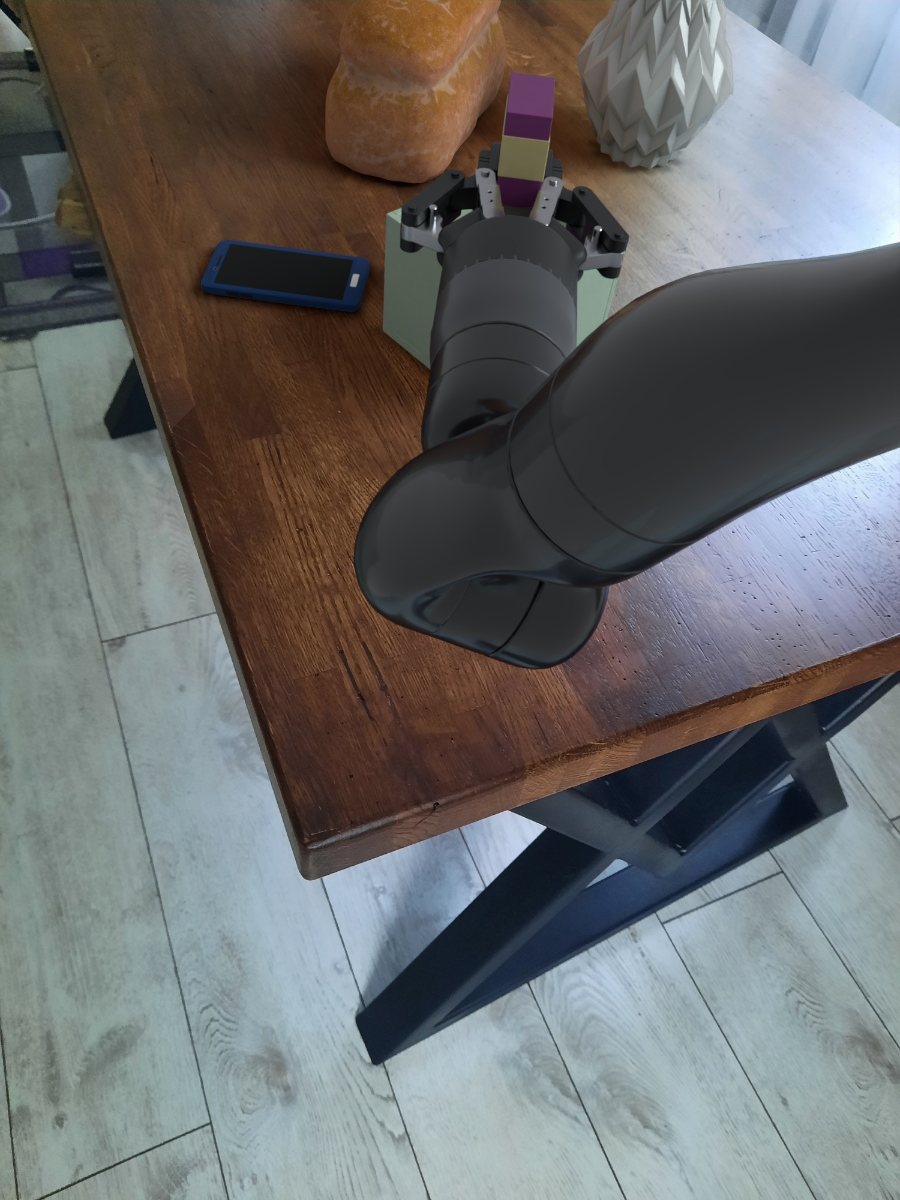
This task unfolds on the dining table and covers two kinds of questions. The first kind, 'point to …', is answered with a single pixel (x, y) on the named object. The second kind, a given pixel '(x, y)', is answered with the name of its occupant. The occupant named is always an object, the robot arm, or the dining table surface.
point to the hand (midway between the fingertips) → (519, 160)
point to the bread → (412, 84)
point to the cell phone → (286, 275)
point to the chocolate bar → (525, 138)
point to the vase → (655, 76)
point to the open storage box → (418, 283)
